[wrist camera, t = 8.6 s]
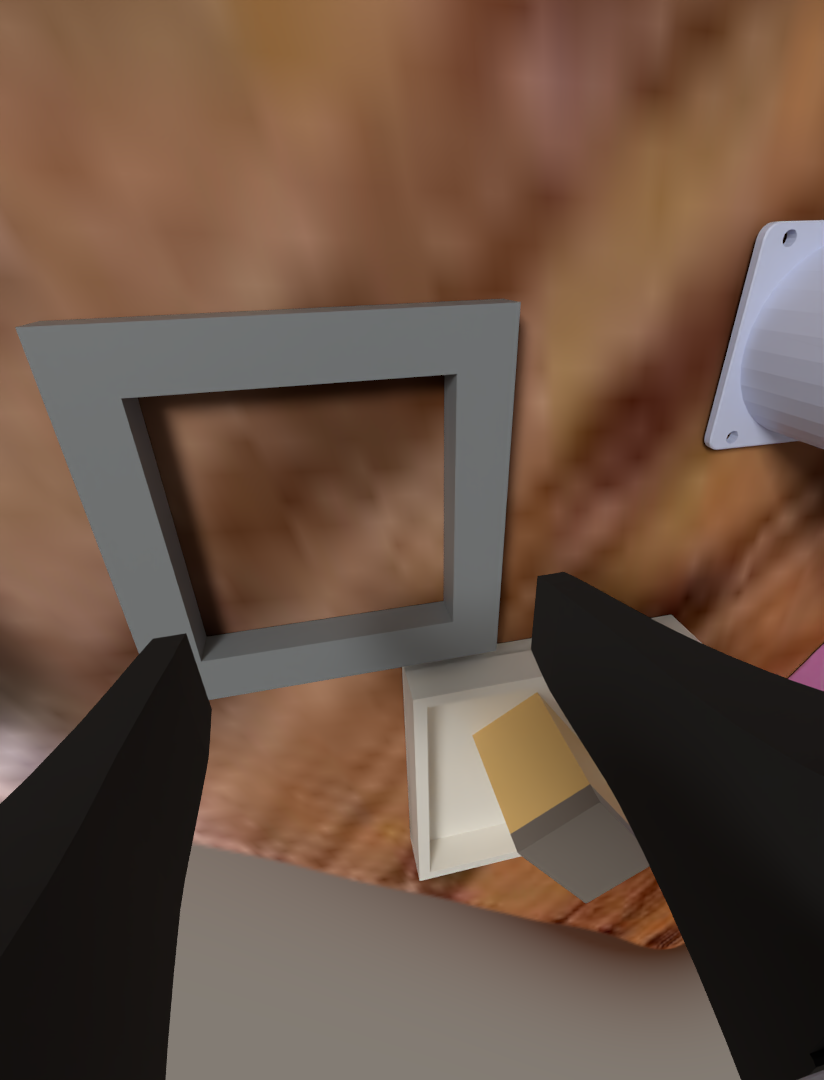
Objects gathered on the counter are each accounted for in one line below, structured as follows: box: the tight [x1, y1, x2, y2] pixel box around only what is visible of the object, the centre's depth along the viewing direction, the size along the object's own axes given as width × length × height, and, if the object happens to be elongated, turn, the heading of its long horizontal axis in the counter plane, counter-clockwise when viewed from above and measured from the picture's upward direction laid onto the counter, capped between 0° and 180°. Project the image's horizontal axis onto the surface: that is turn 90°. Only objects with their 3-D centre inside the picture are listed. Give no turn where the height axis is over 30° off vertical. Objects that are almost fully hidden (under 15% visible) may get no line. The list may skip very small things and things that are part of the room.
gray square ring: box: [15, 299, 521, 700], centre depth 19 cm, size 14×14×2 cm
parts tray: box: [402, 615, 701, 881], centre depth 27 cm, size 14×14×2 cm
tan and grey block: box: [472, 692, 649, 903], centre depth 25 cm, size 4×7×6 cm, turn 36°
